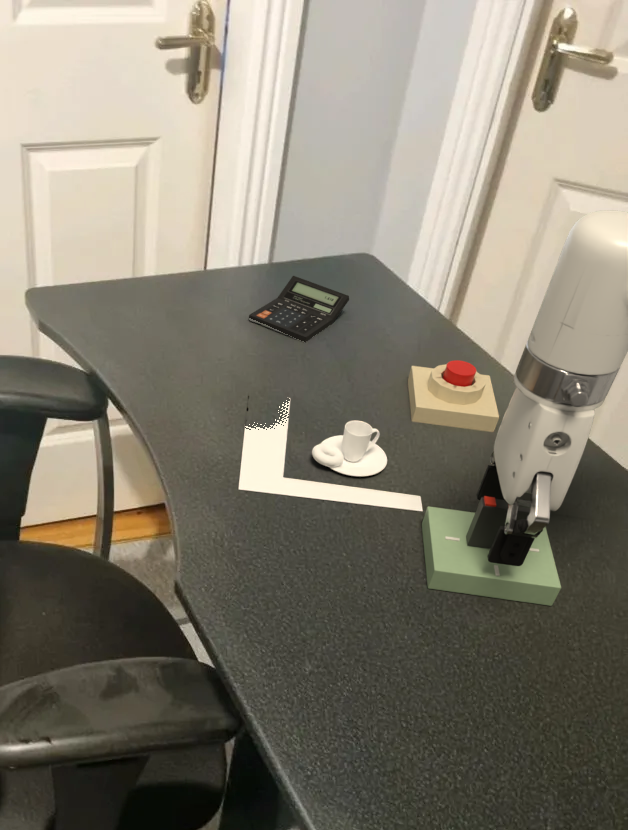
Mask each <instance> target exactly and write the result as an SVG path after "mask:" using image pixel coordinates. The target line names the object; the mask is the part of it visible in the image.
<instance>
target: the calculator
mask: <svg viewBox="0 0 628 830" xmlns="http://www.w3.org/2000/svg"><path fill="white" fill-rule="evenodd" d="M349 301H350V296H349V295H348V294H346V293H342V292H339V291H337V290H333V289H331V288H329V287H326V286H323V285H321V284H317V283H315V282H312V281H310V280H307V279H304V278H301V277H298V276H296V275H292V276H291V278H290V279H289V281H288V282H287V283H286V285H285V286H284V288H283V289H282V290H281V292H280V293H279V295H277V297H276V298H275V299H273V300H270V301H269V302H268V303H266V304H265V305H263V306H261V307H260V308H258V309H257V310H255V311H253V312H252V313H250V314H249V315H248V319H249V318H251V319H253V320H256V321H258V322H260V323H263V324H266V325H268V326H270V327H272V328H274V329H277V330H279V331H281V332H283V333H285V334H288V335H290V336H292V337H294V338H296V339H295V340H297V339H299V340H301V341H300V342H302V341H304V342H305V343H307V342H309V341H310V340H312V339H313V338H314V337H316V336H317V335H319V334H320V333H321V332H323V331H324V330H326V329H327V328H329V327H330V326H331V325H333V324H334V322H335V320H336V319H337V318H338V316H339V315H340V314H341V312H342V311H343V309H344V308H345V307H346V306H347V304H348V302H349ZM329 325H330V326H329ZM328 326H329V327H328ZM325 328H326V329H325ZM322 330H323V331H322ZM319 332H320V333H319ZM316 334H317V335H316ZM315 335H316V336H315ZM313 336H314V337H313ZM312 337H313V338H312ZM299 340H298V341H299ZM306 341H307V342H306ZM304 342H303V343H304Z"/></svg>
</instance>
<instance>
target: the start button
mask: <svg viewBox="0 0 628 830" xmlns="http://www.w3.org/2000/svg"><path fill="white" fill-rule="evenodd" d="M446 364H447V365H446V369H445V372H444V375H443V379H444V380H445V381H446V382H447V383H450V384H452V385H455V386H461V387H467V386H471V385H472V383H473V380H474V377H475V374H476V371H477V368H476V367H475V366H474V365H473V364H472V363H470V362H468V361H465V360H450V361H448V362H447V363H446Z"/></svg>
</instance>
